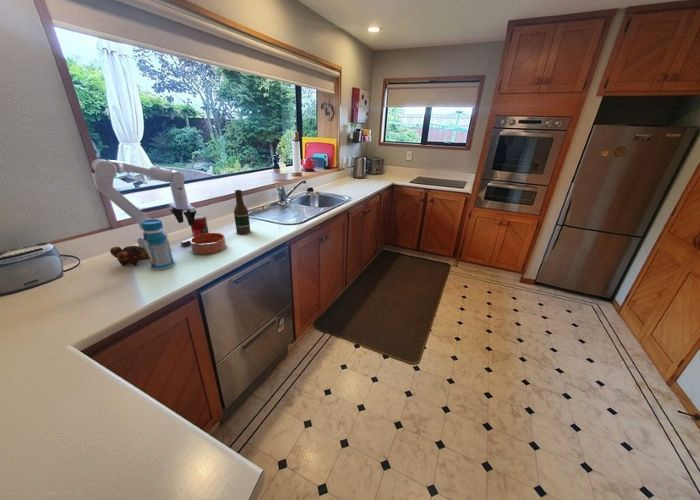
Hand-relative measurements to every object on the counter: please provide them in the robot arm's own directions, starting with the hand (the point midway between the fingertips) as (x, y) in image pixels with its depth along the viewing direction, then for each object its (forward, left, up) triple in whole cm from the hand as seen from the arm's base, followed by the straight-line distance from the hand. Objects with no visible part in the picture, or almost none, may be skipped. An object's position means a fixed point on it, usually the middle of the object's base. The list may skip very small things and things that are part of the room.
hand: (186, 223), depth 139 cm
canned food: (+10, +4, -11) cm, 15 cm away
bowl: (0, -14, -10) cm, 17 cm away
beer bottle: (+25, -12, -11) cm, 29 cm away
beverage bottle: (-22, -12, -11) cm, 27 cm away
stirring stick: (0, -1, -10) cm, 10 cm away
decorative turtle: (-26, +1, -11) cm, 28 cm away
